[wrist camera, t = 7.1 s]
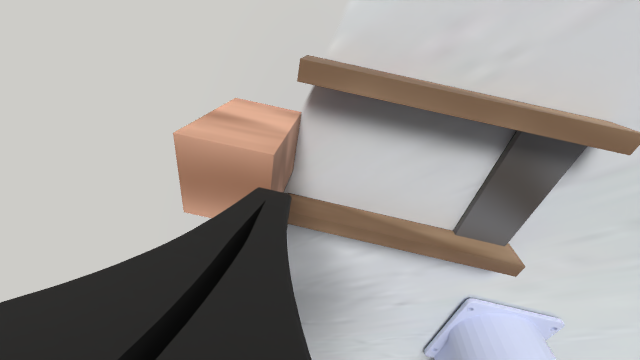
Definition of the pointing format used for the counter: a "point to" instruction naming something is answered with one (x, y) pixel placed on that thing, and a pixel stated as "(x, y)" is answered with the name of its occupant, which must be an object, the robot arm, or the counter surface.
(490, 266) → the walnut channel
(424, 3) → the counter surface
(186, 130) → the terracotta block
